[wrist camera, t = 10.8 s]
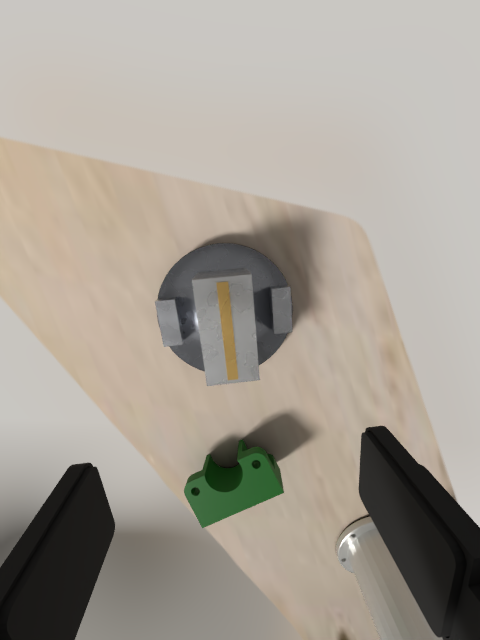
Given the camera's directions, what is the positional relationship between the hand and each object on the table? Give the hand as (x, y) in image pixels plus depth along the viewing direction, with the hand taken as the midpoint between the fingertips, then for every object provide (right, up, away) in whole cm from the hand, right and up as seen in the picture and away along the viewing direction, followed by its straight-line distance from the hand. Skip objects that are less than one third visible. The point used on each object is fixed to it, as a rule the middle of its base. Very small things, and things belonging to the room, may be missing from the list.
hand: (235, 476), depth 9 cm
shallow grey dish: (-1, +7, +21) cm, 22 cm away
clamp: (-1, -14, +28) cm, 31 cm away
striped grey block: (-1, +6, +20) cm, 21 cm away
